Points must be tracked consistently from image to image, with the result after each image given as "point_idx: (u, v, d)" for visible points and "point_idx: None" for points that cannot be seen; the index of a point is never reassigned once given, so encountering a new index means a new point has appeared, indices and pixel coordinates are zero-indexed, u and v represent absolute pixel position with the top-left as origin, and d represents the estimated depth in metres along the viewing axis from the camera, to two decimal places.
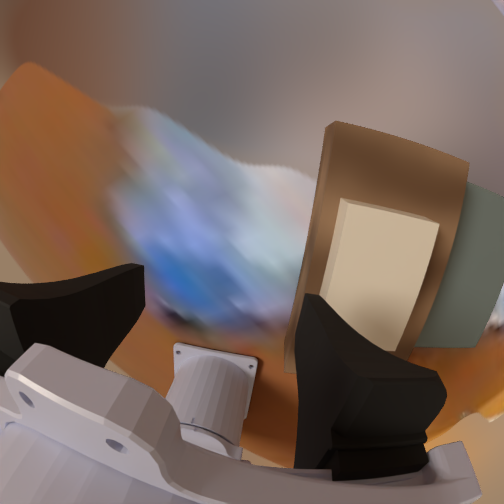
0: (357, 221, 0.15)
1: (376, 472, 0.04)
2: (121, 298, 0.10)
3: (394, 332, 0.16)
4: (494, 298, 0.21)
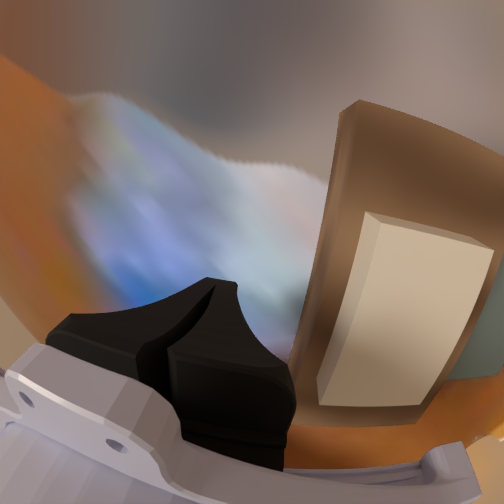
0: (393, 250, 0.09)
1: None
2: None
3: (422, 385, 0.11)
4: None
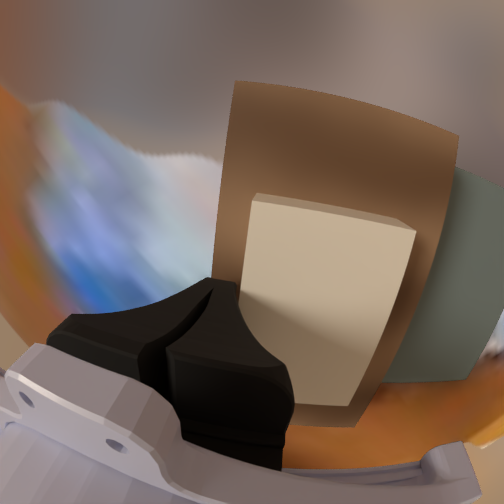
0: (270, 229, 0.10)
1: None
2: None
3: (345, 385, 0.12)
4: (493, 322, 0.16)
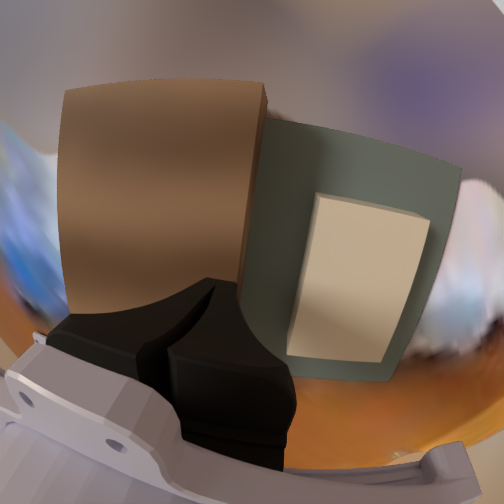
0: None
1: None
2: None
3: None
4: (414, 315, 0.16)
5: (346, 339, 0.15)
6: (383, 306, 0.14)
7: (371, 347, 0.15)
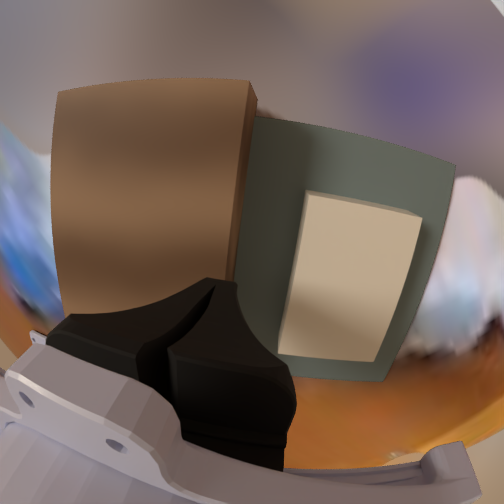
0: None
1: None
2: None
3: None
4: (408, 314, 0.16)
5: (337, 338, 0.15)
6: (375, 305, 0.14)
7: (363, 346, 0.15)
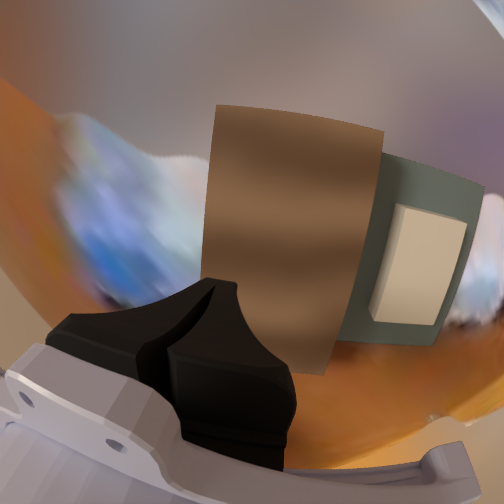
0: None
1: None
2: None
3: None
4: (452, 291, 0.21)
5: (413, 307, 0.20)
6: (437, 282, 0.19)
7: (428, 313, 0.20)
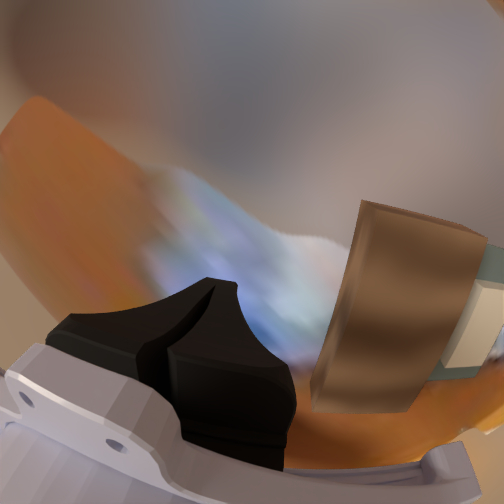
0: None
1: None
2: None
3: None
4: None
5: (472, 355, 0.21)
6: (490, 336, 0.20)
7: (480, 357, 0.21)
